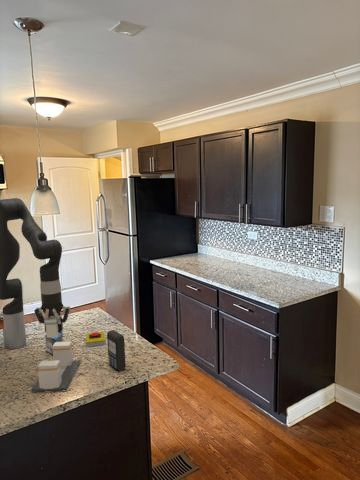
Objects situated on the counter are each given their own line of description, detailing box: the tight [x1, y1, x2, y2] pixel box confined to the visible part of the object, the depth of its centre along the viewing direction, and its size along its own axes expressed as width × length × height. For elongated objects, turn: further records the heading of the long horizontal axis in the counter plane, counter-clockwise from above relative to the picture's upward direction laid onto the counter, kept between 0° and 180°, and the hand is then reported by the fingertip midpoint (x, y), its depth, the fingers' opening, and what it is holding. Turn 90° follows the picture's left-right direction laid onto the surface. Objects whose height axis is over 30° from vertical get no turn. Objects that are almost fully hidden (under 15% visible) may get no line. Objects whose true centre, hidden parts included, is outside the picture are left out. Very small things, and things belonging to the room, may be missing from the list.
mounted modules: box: [37, 341, 74, 388], centre depth 144 cm, size 7×21×9 cm, turn 2°
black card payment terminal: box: [106, 330, 126, 372], centre depth 150 cm, size 9×4×15 cm, turn 39°
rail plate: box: [30, 359, 81, 393], centre depth 145 cm, size 13×22×1 cm, turn 2°
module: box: [44, 316, 60, 338], centre depth 142 cm, size 4×6×7 cm
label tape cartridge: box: [44, 330, 64, 355], centre depth 165 cm, size 9×4×12 cm, turn 52°
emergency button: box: [85, 331, 107, 350], centre depth 177 cm, size 9×4×15 cm
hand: (54, 332), depth 142 cm, fingers closed on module, 4 cm apart
